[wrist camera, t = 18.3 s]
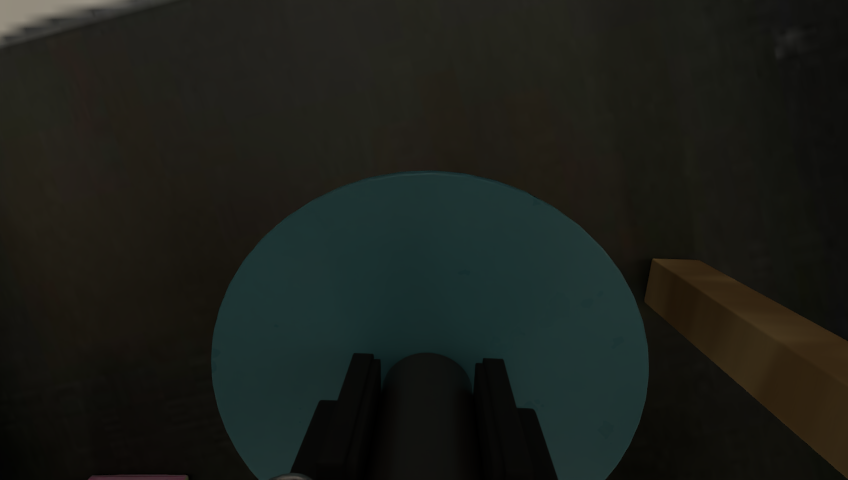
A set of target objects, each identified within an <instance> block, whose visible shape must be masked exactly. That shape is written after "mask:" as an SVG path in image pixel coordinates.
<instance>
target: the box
mask: <svg viewBox="0 0 848 480" xmlns="http://www.w3.org/2000/svg"><path fill="white" fill-rule="evenodd" d="M88 480H189V478H188V475H93V476H91V477H90V478H89V479H88Z"/></svg>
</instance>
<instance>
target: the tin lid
mask: <svg viewBox="0 0 848 480" xmlns="http://www.w3.org/2000/svg"><path fill="white" fill-rule="evenodd" d="M354 353H369V354H374V359H380V360H381V396H380V401H379V406H378V411H377V416H376V421H375V426H374V431H373V436H372V441H371V446H370V451H369V456H368V462H367V467H366V472H365V477H364V480H484V477H483V469H482V461H481V454H480V446H479V439H478V431H477V423H476V416H475V408H474V400H473V390H474V376H475V364H476V363H482V361H483V358H497V359H503V360H504V363H505V367H506V370H507V374H508V378H509V381H510V385H511V389H512V392H513V396H514V400H515V403H516V407H517V408H532V409H534V410H535V412H536V414H537V417H538V420H539V423H540V426H541V429H542V432H543V435H544V438H545V441H546V444H547V447H548V450H549V453H550V456H551V459H552V462H553V465H554V468H555V471H556V474H557V477H558V480H605V479H606V478H607V477H608V475H609V474H610V473H611V472H612V471H613V469H614V468H615V467H616V466H617V464H618V462H619V461H620V459H621V458H622V456H623V454H624V453H625V451H626V449H627V448H628V446H629V445H630V442H631V440H632V438H633V435H634V433H635V431H636V428H637V426H638V424H639V421H640V418H641V414H642V410H643V407H644V403H645V399H646V393H647V384H648V375H649V365H648V345H647V340H646V335H645V330H644V325H643V320H642V317H641V315H640V312H639V309H638V306H637V304H636V301H635V298H634V295H633V294H632V292H631V290H630V288H629V286H628V284H627V283H626V281H625V279H624V277H623V275H622V274H621V272H620V270H619V269H618V268H617V266H616V265H615V264H614V262H613V261H612V260H611V258H610V257H609V256H608V254H607V253H606V252H605V251H604V249H603V248H602V247H601V246H600V245H599V244H598V243H597V242H596V241H595V240H594V239H593V238H592V237H591V236H590V235H589V234H588V233H587V232H586V231H585V230H584V229H583V228H582V227H580V226H579V225H578V224H577V223H575V222H574V221H572V220H571V219H570V218H568V217H567V216H566V215H564V214H563V213H561V212H560V211H559V210H557V209H556V208H555V207H553V206H552V205H550V204H548V203H546V202H544V201H542V200H541V199H539V198H537V197H535V196H533V195H531V194H529V193H527V192H526V191H523V190H520V189H518V188H515V187H512V186H510V185H507V184H504V183H502V182H499V181H496V180H492V179H488V178H483V177H479V176H474V175H470V174H465V173H456V172H444V171H433V170H432V171H408V172H397V173H391V174H386V175H380V176H374V177H369V178H366V179H363V180H360V181H357V182H354V183H350V184H347V185H344V186H341V187H339V188H337V189H335V190H332V191H330V192H328V193H326V194H324V195H322V196H320V197H318V198H316V199H314V200H312V201H310V202H309V203H307V204H306V205H304V206H303V207H301V208H300V209H298V210H297V211H295V212H294V213H292V214H291V215H289V216H288V217H286V218H285V219H283V220H282V221H281V222H280V223H279V224H278V225H277V226H276V227H274V228H273V229H272V230H271V231H270V232H269V233H268V234H267V235H266V236H264V237H263V238H262V239H261V240H260V242H259V243H258V244H257V245H256V246H255V248H254V249H253V250H252V251H251V252H250V254H249V255H248V256H247V257H246V258H245V260H244V261H243V262H242V264H241V266H240V267H239V269H238V271H237V272H236V274H235V276H234V277H233V279H232V281H231V282H230V284H229V286H228V289H227V291H226V294H225V296H224V298H223V301H222V303H221V306H220V308H219V312H218V316H217V320H216V324H215V328H214V332H213V342H212V354H211V366H212V382H213V388H214V392H215V397H216V402H217V406H218V410H219V412H220V415H221V418H222V420H223V423H224V426H225V429H226V431H227V433H228V435H229V437H230V439H231V440H232V442H233V444H234V446H235V448H236V450H237V452H238V453H239V454H240V456H241V457H242V459H243V460H244V462H245V463H246V464H247V466H248V467H249V469H250V470H251V471H252V472H253V474H254V475H255V476H256V477H257V478H258V479H259V480H269V479H270V478H272V477H275V476H278V475H281V474H287V473H290V471H291V468H292V466H293V463H294V461H295V458H296V456H297V453H298V451H299V449H300V446H301V444H302V441H303V439H304V436H305V434H306V431H307V429H308V426H309V424H310V422H311V419H312V417H313V414H314V412H315V409H316V407H317V405H318V403H319V401H320V400H337V399H338V397H339V394H340V391H341V388H342V385H343V382H344V379H345V376H346V373H347V370H348V368H349V365H350V362H351V359H352V356H353V354H354Z"/></svg>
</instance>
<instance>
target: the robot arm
mask: <svg viewBox="0 0 848 480" xmlns="http://www.w3.org/2000/svg"><path fill="white" fill-rule="evenodd" d="M380 396H381V360H380V359H374V354H369V353H354V354H353V356H352V359H351V362H350V365H349V368H348V370H347V373H346V376H345V379H344V382H343V385H342V388H341V391H340V394H339V397H338V399H337V400H320V401H319V403H318V405H317V407H316V409H315V412H314V414H313V417H312V419H311V422H310V424H309V426H308V429H307V431H306V434H305V436H304V439H303V441H302V444H301V446H300V449H299V451H298V453H297V456H296V458H295V461H294V463H293V466H292V468H291V471H290V473H287V474H281V475H278V476H275V477H272V478H270V479H269V480H364V477H365V472H366V467H367V462H368V456H369V451H370V446H371V441H372V436H373V431H374V426H375V421H376V416H377V411H378V406H379V401H380ZM473 400H474V408H475V416H476V423H477V431H478V439H479V446H480V454H481V461H482V469H483V477H484V480H558V477H557V474H556V471H555V468H554V465H553V462H552V459H551V456H550V453H549V450H548V447H547V444H546V441H545V438H544V435H543V432H542V429H541V426H540V423H539V420H538V417H537V414H536V412H535V410H534V409H532V408H517V407H516V403H515V400H514V396H513V392H512V389H511V385H510V381H509V378H508V374H507V370H506V367H505V363H504V360H503V359H497V358H483V361H482V363H476V364H475V376H474V390H473Z"/></svg>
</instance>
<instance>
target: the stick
mask: <svg viewBox="0 0 848 480" xmlns="http://www.w3.org/2000/svg"><path fill="white" fill-rule="evenodd" d="M644 302H645V303H646V304H648V305H649V306H650V307H651V308H652V309H653V310H655V311H656V312H657V313H658V314H659V315H660V316H661V317H663V318H664V319H665V320H666V321H667V322H668V323H669V324H671V325H672V326H673V327H674V328H675V329H676V330H677V331H679V332H680V333H681V334H682V335H683V336H684V337H686V338H687V339H688V340H689V341H690V342H691V343H692V344H694V345H695V346H696V347H697V348H698V349H699V350H700V351H702V352H703V353H704V354H705V355H706V356H707V357H708V358H710V359H711V360H712V361H713V362H714V363H715V364H717V365H718V366H719V367H720V368H721V369H722V370H723V371H725V372H726V373H727V374H728V375H729V376H730V377H731V378H733V379H734V380H735V381H736V382H737V383H738V384H739V385H741V386H742V387H743V388H744V389H745V390H746V391H748V392H749V393H750V394H751V395H752V396H753V397H754V398H756V399H757V400H758V401H759V402H760V403H761V404H762V405H764V406H765V407H766V408H767V409H768V410H769V411H770V412H772V413H773V414H774V415H775V416H776V417H777V418H779V419H780V420H781V421H782V422H783V423H784V424H785V425H787V426H788V427H789V428H790V429H791V430H792V431H793V432H795V433H796V434H797V435H798V436H799V437H800V438H801V439H803V440H804V441H805V442H806V443H807V444H808V445H810V446H811V447H812V448H813V449H814V450H815V451H816V452H818V453H819V454H820V455H821V456H822V457H823V458H824V459H826V460H827V461H828V462H829V463H830V464H831V465H832V466H834V467H835V468H836V469H837V470H838V471H839V472H841V473H842V474H843V475H844V476H845V477H846V478H847V479H848V341H846V340H844V339H842V338H841V337H839V336H837V335H835V334H833V333H831V332H830V331H828V330H826V329H824V328H822V327H820V326H819V325H817V324H815V323H813V322H811V321H809V320H808V319H806V318H804V317H802V316H800V315H798V314H797V313H795V312H793V311H791V310H789V309H787V308H786V307H784V306H782V305H780V304H778V303H776V302H775V301H773V300H771V299H769V298H767V297H765V296H764V295H762V294H760V293H758V292H756V291H754V290H753V289H751V288H749V287H747V286H745V285H743V284H742V283H740V282H738V281H736V280H734V279H732V278H731V277H729V276H727V275H725V274H723V273H721V272H720V271H718V270H716V269H714V268H712V267H710V266H709V265H707V264H705V263H703V262H701V261H699V260H682V259H652V263H651V268H650V273H649V278H648V283H647V289H646V294H645V299H644Z"/></svg>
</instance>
